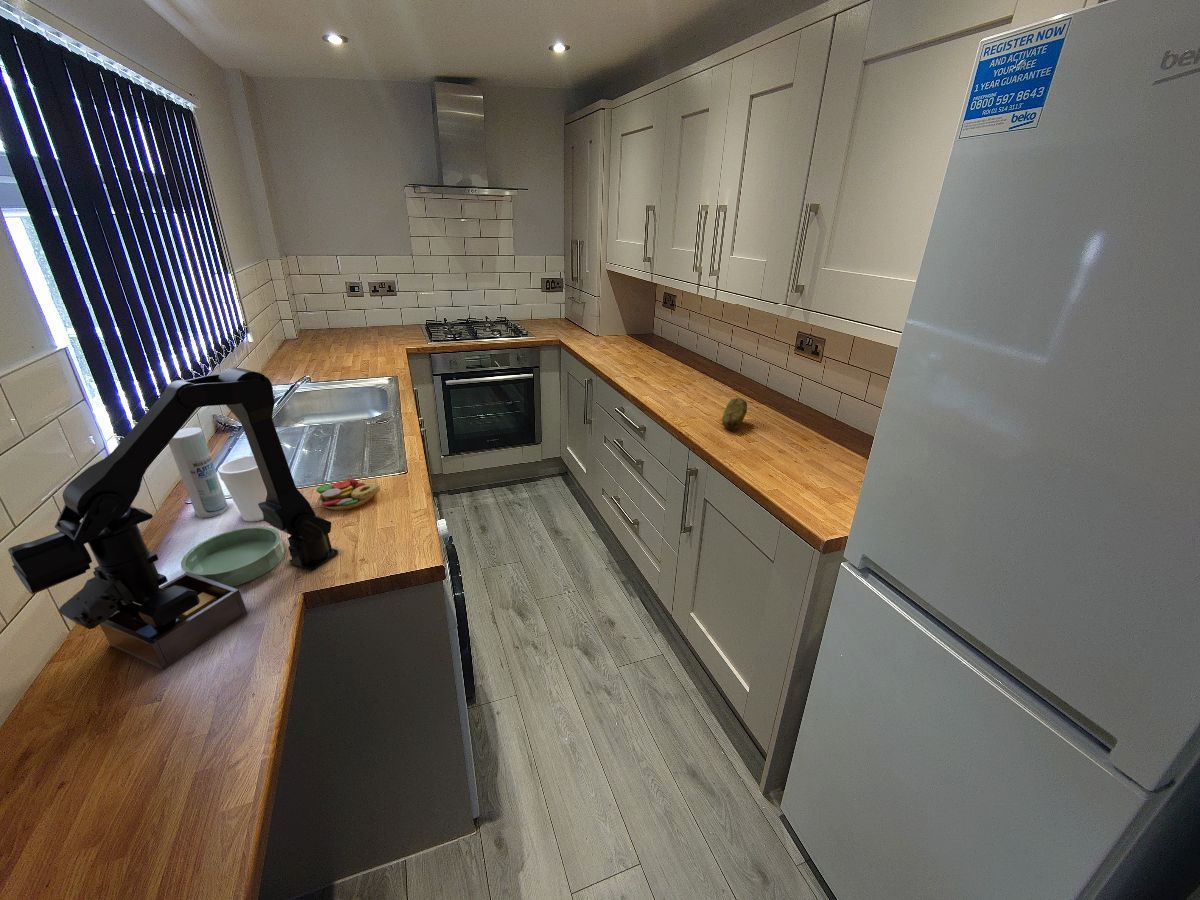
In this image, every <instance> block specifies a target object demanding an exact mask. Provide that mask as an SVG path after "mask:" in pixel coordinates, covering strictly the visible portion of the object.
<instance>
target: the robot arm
mask: <svg viewBox="0 0 1200 900" xmlns="http://www.w3.org/2000/svg"><path fill="white" fill-rule="evenodd" d="M212 406H213V407H214V406H226V407H227V408H228V409H229V410H230V412H231V413H232V414H233V415H234V416H235V418H236V419H237V420H238V421H239V422H240V424H241V426H242V429H243V432H244V434H245V436H246V440H247V442H248V445H249V447H250V450H251V452H252V456H254V458H255V461H256V464H257V466H258V469H259V472H260V474H261V477H262V480H263V482H264V485H265V488H266V490H267V496H266V501H265V502H261V503H259V504H258V506H259V508H260V509H261V511H262V512H263V516H264V517H263V519H262V520H263V521H262V522H265V523H267V524H269V525H270V526H271V527H273V528H274V529H276V530H277V529H278V530H279V531H281V532H283V533H285V534H287V535H290V536H288V537H287V541H288V545H289V546H288V551H289V555H290V558H291V559H289V564H291V565H294V566H297V567H301V568H304V569H307V570H311V571H312V570H315V569H316V568H318V567H319V566H321V565H322V564H324V563H326V562H327V561H328V560H330V559H331V558H333V557H335V556H336V555H337V554H338V553H339V550H338V549H335V548H333V547H332V543H331V540H330V536H329V534H330V533H331V531H332V522H331V521H330V520H328V519H325V518H323V517H320V516H319V515H317V514H316V512H315V511H314V509H313V507H312V505H311V504H310V502H309V500H308V499H306V497H305V496H304V495H303V494H302V493H301V491H300V490H299V489H298V488H297V486H296V484H295V480H294V477H293V475H292V471H291V469H290V466H289V464H288V460H287V457H286V455H285V452H284V449H283V446H282V443H281V440H280V437H279V435H278V434H279V433H278V431H277V429H276V426H275V423H274V419H273V414H274V410H275V395H274V388H273V384H272V382H271V380H270V378H269V377H268V376H266V375H265V374H263V373H261V372H258V371H254V370H250V369H249V370H248V369H245V368H240V367H236V366H235V367H228V368H226V369H224V370H223V371H222V372H220V373H219V374H210V375H203V376H199V377H194V378H190V379H178V380H174V381H171V382H170V383H168V384H167V385H166V387H165V389H164V391H163V393H162V394H161V395H160V396H159V398H157V400H156V401H155V402H154V403H153V404H152V405H151V407H150V408H149V409H148V410H147V411H146V413H144V414H143V416H142V417H141V418H140V419H139V421H138V422H136V424H135V425H134V427H132V429H131V430H130V431H129V432H128V433H127V434H126V436H125V437H124V438H123V439H122V440H121V441H120V443H118V445H117V446H116V447H115V448H114V450H113V451H112V452H111V453H109V454H108V455H106V457H105V458H103V459H101V460H98V461H97V462H96V463H94V464H92V465H90V466H88V467H87V468H86V469H84V470H83V471H82V472H81V473H80V474H78V475H77V476H76V477H75V478H74V479H72V480H71V481H69V483H68V484H66V487H65V489H64V490H63V492H62V494H61V496H62V499H63V502H64V503H63V504H64V506H63V507H62V510H61V512H60V514H59V516H58V518H57V520H56V522H55V525H54V528H55V529H56V530H57V532H55V533H52V534H50V535H46V536H43V537H41V538H38V539H35V540H32V541H29V542H25V543H20V544H17V545H14V546H11V547H8V549H7V551H8V553H9V555H10V559H11V562H12V564H13V565H12V569H13V571H14V572H15V574H16V575H17V577H18V578H19V580H20V581H21V583H22V584H23V586H24V587H25V589H26V590H27V591H28V593H30V595H32V596H33V595H36V594H38V593H41V592H42V591H45V590H48V589H50V588H53V587H55V586H58V585H59V584H62V583H64V582H66V581H67V582H68V581H70V580H71V579H74V578H76V577H80V576H81V575H83V574H86V573H87V571H88V570H90V569H91V565H90V564H92V563H93V559H92V556H91V555H90V553H89V551H88V549H87V548H86V546H85V544H88V546H89V549H90V550H91V552H92V555H93V556H94V559H95V561H96V563H97V566H95V567H94V568H93V569H94V571H92V573H93V575H94V577H92V578H91V577H90V578H88V579H87V580H86V582H85V583H84V585H83V587H82V588H81V589H80V590H79V591H77V592H76V593H75V594H74V595H73V596H72V597H70V598H69V599H68V600H67V601H66V602H64V603H63V604H62V605H61V606H60V607H59V609H58V613H59V614H60V615H62V616H64V617H65V618H67V619H69V621H72V622H74V623H75V624H77V625H79V626H81V627H83V628H86V629H87V630H93V629H95V628H97V627H98V626H100V623H103V622H105V621H106V620H107V619H108V618H109V617H110V616H111V615H113V614H114V613H115V612H116V611H123V612H125V613H126V614H128V615H129V616H130V617H131V618H132V619H133V620H134V621H135V622H136V623H137V624H138V625H139V626H140V627H141V628H143V627H145V626H146V625H148V624H150V625H151V626H152V627H153V629H154V630H155V631H156V633H157V634H158V635H159V636H160V635H162V634H164V633H165V632H167V631H168V630H170V629H172V628H173V627H174V626H175V622H176V618H177V617H178V616H180V615H182V614H183V613H185V612H186V611H188V610H190V609H191V608H193V607H195V606H196V605H198V604H199V602H200V600H199V597H198V595H197V592H196V591H193V590H191V589H188V588H185V587H183V586H176V585H174V586H172V587H170V588H166V589H161V588H159V587H161V586H163V585H164V584H166V583H168V582H169V580H168V578H167V576H166V575H165V574H162V573H159V572H158V570H157V567H156V565H155V562H157V561H159V557H158V555H157V553H154V552H151V551H149V548H148V546H147V544H146V542H145V539H144V537H143V535H142V533H141V530H140V528H139V526H138V524H141V523H144V522H146V521H149V520H151V519H153V517H154V516H153V514H152V513H150V512H149V511H147V510H145V509H143V508H138V507H134V505H133V503H134V501H135V499H136V497H137V496H138V494H139V492H140V489H141V486H142V482H143V478H144V475H145V474H146V472H147V469H148V468H149V467H150V466H151V465H152V464H153V462H154V461H155V460H156V459H157V458H158V456H159V455H160V454H161V453H162V451H163V450H164V449H165V448H166V446H167V445H169V444H168V443H169V442H170V440H171V439H172V438H173V437H174V436H175V434H176V433H177V432H178V431H179V430H180V429H182V427H183V426H184V425H185V423H186V422H187V421H188V420H189V419H190V417H191V416H192V415H193V414H194V413H195V411H197V409H198V408H205V407H212Z"/></svg>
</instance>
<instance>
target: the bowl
mask: <svg viewBox="0 0 1200 900" xmlns="http://www.w3.org/2000/svg"><path fill="white" fill-rule="evenodd" d="M284 555H285V548H284V543H283V540H282V537H281V535H280V532H279V531H278V530H277V529H276V528H272V527H268V526H247V527H241V528H234V529H231V530H228V531H224V532H222V533H219V534H217V535H213V536H212V537H210V538H207V539H206V540H204V541H202V542H200V543H198V544H196V545H195V546H194V547H192V548H191V549H190V550H189V551H187V553H186V554H184V556H183V558H182V559H181V561H180V568H181V570H182V574H185V573H187V572H190V573H193V574H196V575H199V576H202V577H204V578H207V579H210V580H213V581H216V582H219V583H222V584H224V585H227V586H230V587H233V588H234V587H237V586H240V585H242V584H246V583H248V582H249V583H250V582H251V581H253V580H256V579H258V578H260V577H261V576H263V575H265V574H266V573H268V572H269V571H271V570H272V569H274V568H275V567H276V566H277V565H278V564H279V563H280V562H281V561H282V559H283V558H284Z"/></svg>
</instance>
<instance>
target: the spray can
mask: <svg viewBox="0 0 1200 900" xmlns="http://www.w3.org/2000/svg"><path fill="white" fill-rule="evenodd" d="M167 445H169V449H170V452H171V454H172V456H173V459H174V462H175V464H176V466H177V469H178V471H179V474H180V477H181V480H182V482H183V484H184V487H185V490H186V492H187V494H188V495H187V496H188V497H189V500H190V503H191V505H192V507H193V509H194V513H195V515H196V516H197V517H198V518H203V519H207V518H211V517H216V516H219V515H220V514H222V513H225V512H226V511H227V510H228V503H227V500H226V496H225V493H224V491H223V488H222V484H221V482H220V479H219V476H218V473H217V471H216V467H215V465H214V461H213V458H212V455H211V452H210V449H209V446H208V444H207V440H206V438H205V434H204V432H203V429H202V428H200V427H185V428H180V430H179V431H178V432H177V433H176V434H175V436H174V437H173V438H172V439H171V440H170V442H169V443H168V444H167Z"/></svg>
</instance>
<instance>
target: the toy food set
mask: <svg viewBox="0 0 1200 900" xmlns="http://www.w3.org/2000/svg"><path fill="white" fill-rule="evenodd" d="M380 491H381V487H380V485H379V484H378V483H376V482H371V483H369V482H360V481H358V480H357V479H355V478H349V479H346V480H341V481H337V482H335V483H333V484H323V485H320V486H318V487H317V488H316V492H317V493H318V494H319V496H318V501H317V502H318V504H319V505H320V506H321V507H324V508H325V509H328V510H334V511H340V510H342V511H343V510H350V509H353V508H356V507H359V506H362V505H364V504H366V503H367V502H369V501H370V500H371V499H372V498H373V496H375V495H377V494H378V493H379V492H380Z"/></svg>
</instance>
